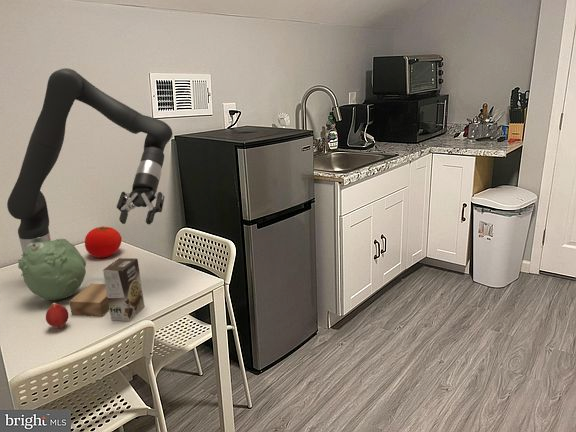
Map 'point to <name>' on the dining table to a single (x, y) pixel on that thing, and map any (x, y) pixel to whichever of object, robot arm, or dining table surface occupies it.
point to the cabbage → (52, 269)
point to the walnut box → (90, 301)
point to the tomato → (102, 241)
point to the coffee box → (124, 289)
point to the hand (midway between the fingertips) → (135, 223)
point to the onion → (57, 315)
